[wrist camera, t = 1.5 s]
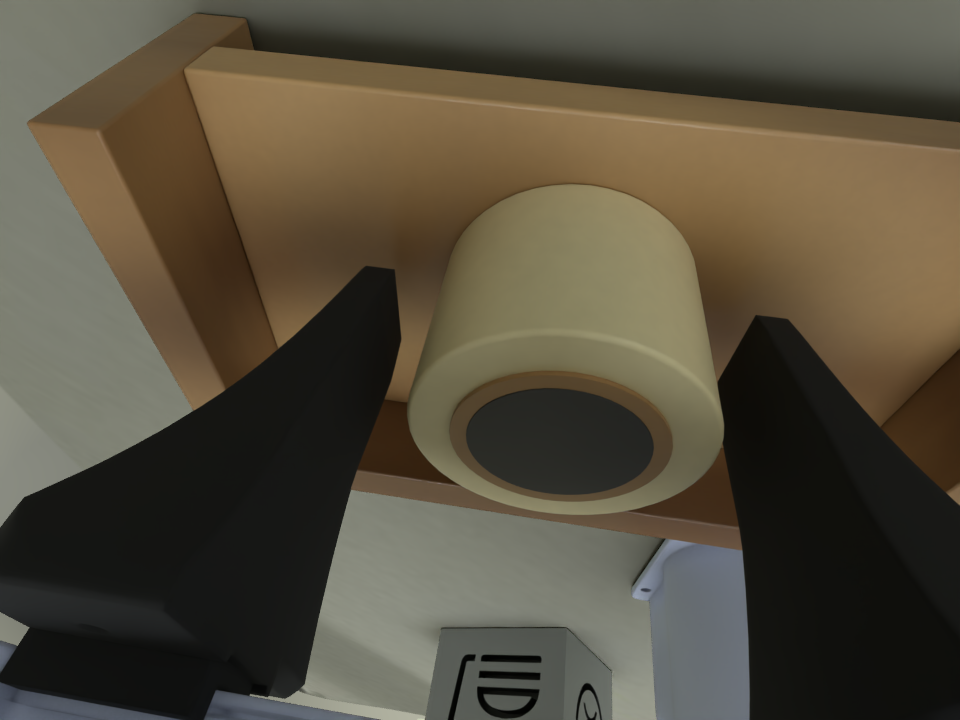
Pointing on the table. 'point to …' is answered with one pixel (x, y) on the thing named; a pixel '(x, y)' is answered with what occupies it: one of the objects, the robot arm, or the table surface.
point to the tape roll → (569, 357)
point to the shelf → (480, 185)
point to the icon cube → (517, 676)
